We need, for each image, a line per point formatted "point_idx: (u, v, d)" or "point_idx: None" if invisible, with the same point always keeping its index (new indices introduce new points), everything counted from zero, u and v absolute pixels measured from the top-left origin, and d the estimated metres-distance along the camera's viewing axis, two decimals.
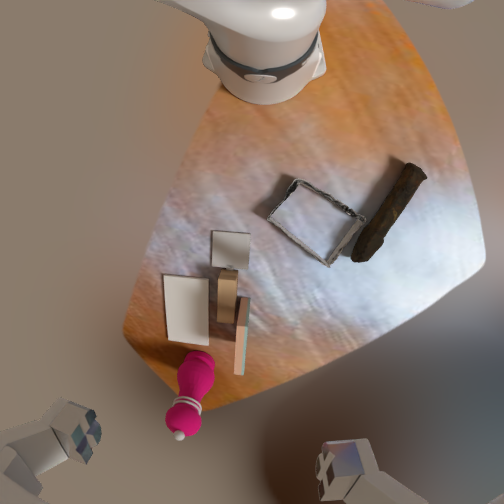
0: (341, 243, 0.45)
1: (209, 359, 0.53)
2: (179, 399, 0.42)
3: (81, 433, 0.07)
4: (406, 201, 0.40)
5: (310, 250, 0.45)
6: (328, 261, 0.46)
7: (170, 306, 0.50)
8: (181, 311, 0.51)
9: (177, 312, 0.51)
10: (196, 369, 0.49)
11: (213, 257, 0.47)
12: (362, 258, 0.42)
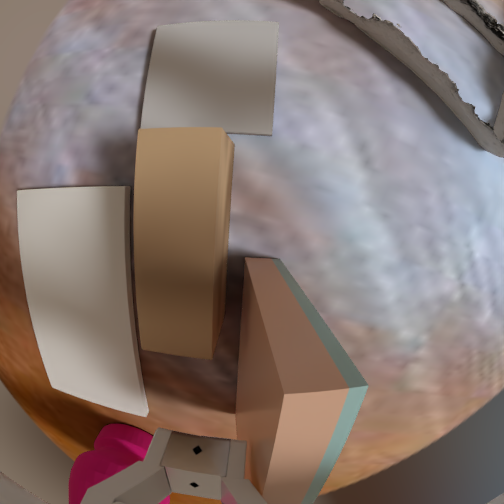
0: None
1: None
2: None
3: None
4: None
5: (454, 102, 0.10)
6: None
7: (34, 291, 0.14)
8: (60, 307, 0.14)
9: (51, 312, 0.14)
10: None
11: (146, 102, 0.11)
12: None
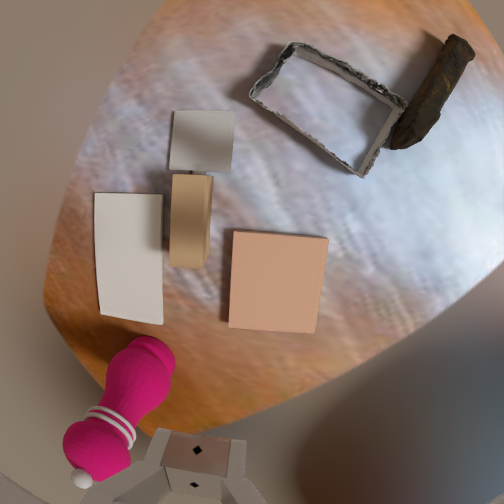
0: (375, 143, 0.25)
1: (164, 351, 0.30)
2: (92, 411, 0.19)
3: None
4: (458, 72, 0.20)
5: (327, 151, 0.25)
6: (359, 173, 0.26)
7: (102, 249, 0.28)
8: (118, 257, 0.28)
9: (112, 261, 0.28)
10: (135, 362, 0.25)
11: (171, 154, 0.26)
12: (413, 132, 0.21)
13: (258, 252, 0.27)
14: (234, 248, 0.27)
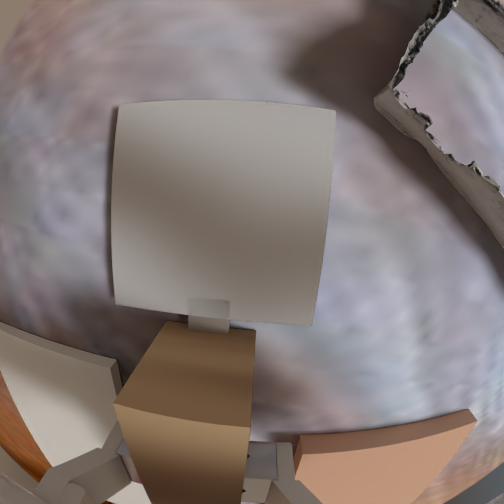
0: None
1: None
2: None
3: None
4: None
5: None
6: None
7: (30, 419, 0.10)
8: (61, 440, 0.10)
9: (52, 440, 0.10)
10: None
11: (116, 258, 0.08)
12: None
13: (350, 472, 0.09)
14: (299, 474, 0.09)
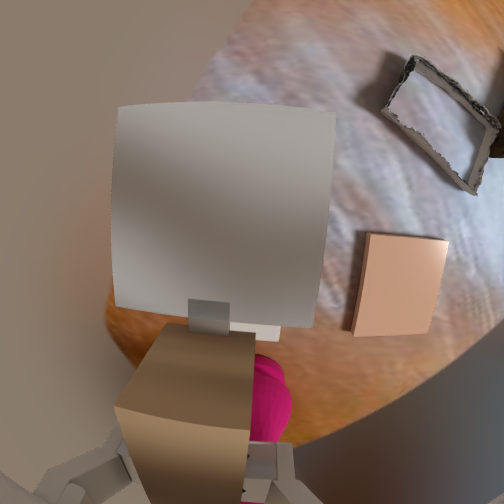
0: (478, 161, 0.22)
1: (278, 370, 0.27)
2: None
3: None
4: None
5: (447, 169, 0.22)
6: None
7: None
8: None
9: None
10: (262, 389, 0.22)
11: (116, 260, 0.08)
12: None
13: (392, 256, 0.24)
14: (370, 252, 0.24)
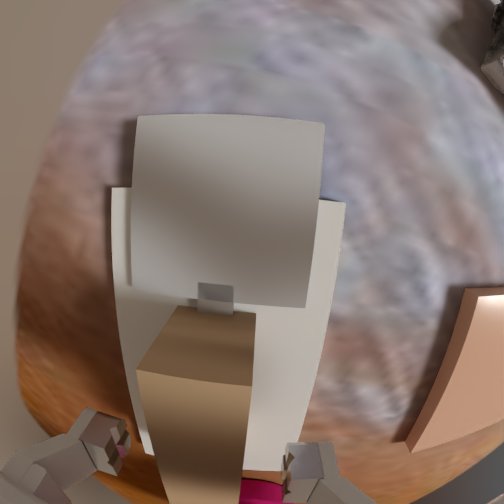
0: None
1: None
2: None
3: (113, 444, 0.07)
4: None
5: None
6: None
7: (141, 345, 0.10)
8: None
9: None
10: None
11: (134, 249, 0.09)
12: None
13: (498, 329, 0.09)
14: (471, 330, 0.09)
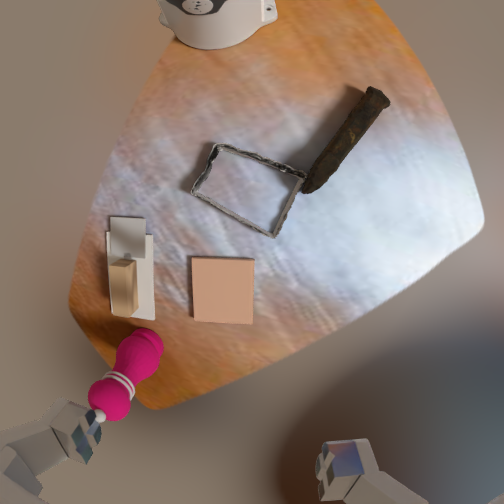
0: (285, 209, 0.40)
1: (155, 338, 0.44)
2: (107, 374, 0.33)
3: (81, 433, 0.07)
4: (366, 124, 0.33)
5: (248, 222, 0.40)
6: (274, 233, 0.40)
7: None
8: None
9: None
10: (136, 344, 0.39)
11: (111, 245, 0.41)
12: (312, 183, 0.35)
13: (208, 271, 0.41)
14: (193, 269, 0.41)
